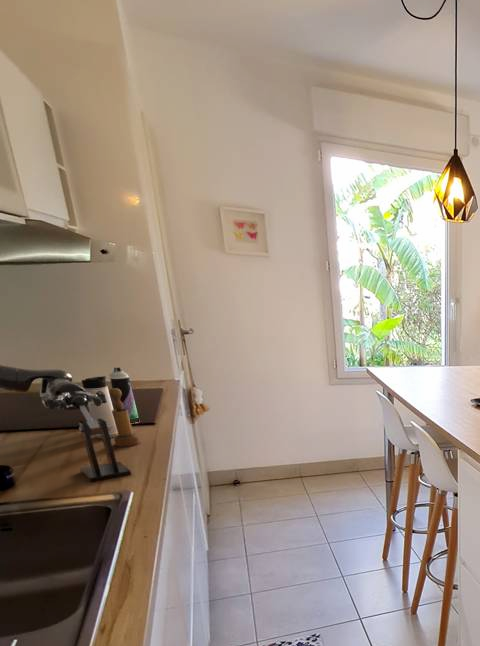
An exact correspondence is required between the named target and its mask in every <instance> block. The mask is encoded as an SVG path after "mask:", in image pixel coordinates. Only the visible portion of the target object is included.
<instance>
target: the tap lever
mask: <svg viewBox="0 0 480 646" xmlns="http://www.w3.org/2000/svg"><path fill="white" fill-rule="evenodd" d="M71 403H72V406H73V407H74V408H76V409H77V410H80V411H81V413H82V415H83V418H84V419H85V420H86V424H87V425H88V429H89V433H90V436H96V435H97V434H101V429H100V426H99V424H98V422H97V421H93V420H92V418H91V415H90V412H89V411H88V409H87V408H89V407H88V401H87V399H86V398H84V397H81V396H77V397H74V398H73V399H72V401H71Z"/></svg>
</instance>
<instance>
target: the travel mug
mask: <svg viewBox="0 0 480 646" xmlns="http://www.w3.org/2000/svg"><path fill="white" fill-rule="evenodd" d="M106 379H107V376H106V375H102V376H94V377H87V378H85V379H81V384H82V388H83V389H84V390H85V391H86V392H88V393H91V394H92V395H93V394H96V392H98V391H102V392H103V393H104V394H105V397H106V401H107V403H102V404H100V406H96V405H95V404H94V405H88V407H87V408H88V410H89V411H88V412H89V414H90V416H91V418H92V420H93V421H97V419H103V420H104V421H106V424H107V425H108V432H109V436H110V439H114V438H115V437H116V436H117V435H118V432H117V428H116V424H115V421H114V417H113V413H112V410H114V407H113V406H114V405H113V402H112V399H111V398H112V397H111V395H110V393H109V392H110V390H109V387H108V384H107V380H106ZM97 422H98V421H97ZM95 436H96V437H95V438H97V439H101V440H102V436H101V434H97V435H95Z"/></svg>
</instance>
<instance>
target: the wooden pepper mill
mask: <svg viewBox="0 0 480 646" xmlns="http://www.w3.org/2000/svg"><path fill="white" fill-rule="evenodd" d="M109 394H110V397H111V398H112V399H113V401H114V400H115V401H114V402H112V405H113V406H114V407H115V409H113V410H112V413H113V417H114V421H115V424H116V428H117V432H118V435H117V436H116V437H114V438H113V439H114V444H115V447H121V448H124V447H133V446H136V445H139V444H141V438H140V436H139V435H138V434H136V433H135V432H134V431H133V426H132V424H131V423H130V419H129V415H128V410H127V409H122V402H121V401H120V397H121V394H122V392H121V390H119V389H118V388H113V389H112V388H110V389H109ZM116 409H117V410H116Z"/></svg>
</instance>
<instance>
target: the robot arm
mask: <svg viewBox="0 0 480 646" xmlns="http://www.w3.org/2000/svg"><path fill="white" fill-rule="evenodd" d="M38 379H41V382H40V388H39V396H40V399H41V402H42V406H43V407H44V408H46V409H48V410H54V409H55V408H57V409H61V410H64V411H67V410H68V411H77V410H78V409H76V408H74V407H73V406H72V403H71V401H72V399H73V398H74V397H77V396H81V397H84V398H86V399H87V401H88V405H94V404H95V405H96V406H100V404H102V403H107V401H106V397H105V394H104V393H103V392H102V391H98V392H96V394H93V395H92V394H91V393H88V392H86V391H85V390H84V389H83V386H80V385H79V384H77V383H75V382H73V376H72V374H71V373H70V372H68V371H66V370H65V369H64V370H63V369H59V368H48V369H47V368H46V369H29V368H21V367H15V366H11V365H10V366H9V365H3V364H0V390H3V391H11V392H18V393H27V392H28V391H29V390H30V388H31V386H32V383H33V382H34V381H35V380H38Z"/></svg>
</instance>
